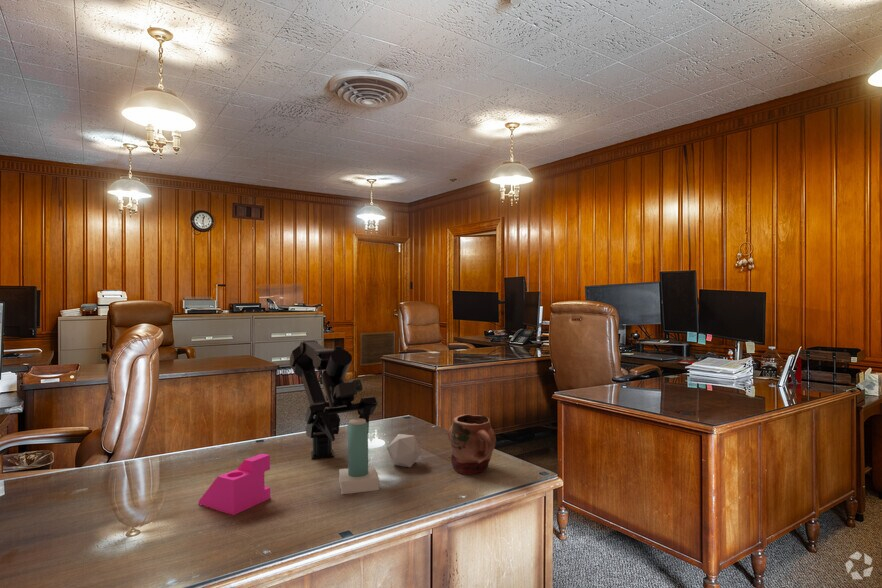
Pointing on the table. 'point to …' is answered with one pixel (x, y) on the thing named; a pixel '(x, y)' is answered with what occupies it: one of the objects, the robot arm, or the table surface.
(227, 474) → the bracket
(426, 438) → the table surface
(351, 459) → the thermos
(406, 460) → the die
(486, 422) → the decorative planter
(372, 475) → the block
